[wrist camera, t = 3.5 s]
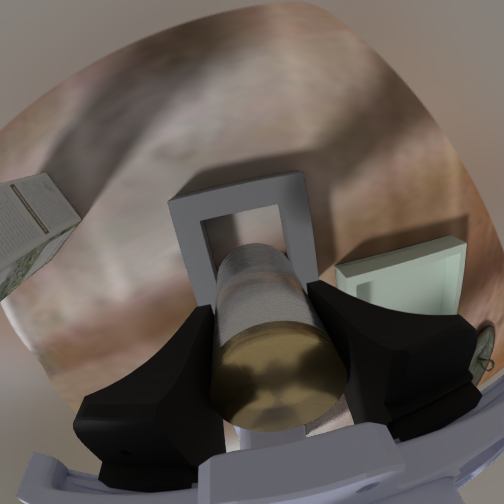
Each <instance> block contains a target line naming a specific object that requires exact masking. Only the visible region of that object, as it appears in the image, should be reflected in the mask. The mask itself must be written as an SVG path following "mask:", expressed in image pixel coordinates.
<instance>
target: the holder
mask: <svg viewBox="0 0 504 504" xmlns="http://www.w3.org/2000/svg"><path fill="white" fill-rule="evenodd" d="M275 204H278V206H279V211H280V217H281V222H282V228H283V234H284V239H285V245H286V251H287V257H288V261H289V262H290V264H291V266H292V268H293V270H294V271H295V273H296V275H297V277H298V279H299V280H300V282H301V284H302V286H303V288H304V290H305V291H306V293H307V286H306V283H309V282H313V281H317V280H319V278H318V269H317V261H316V252H315V244H314V237H313V230H312V222H311V216H310V209H309V202H308V196H307V190H306V184H305V178H304V172H301V171H297V170H296V171H290V172H285V173H279V174H274V175H269V176H263V177H258V178H253V179H249V180H244V181H239V182H234V183H230V184H225V185H221V186H217V187H212V188H208V189H204V190H200V191H195V192H191V193H187V194H183V195H180V196H176V197H173V198H171V199H170V200H169V201H168V206H169V210H170V213H171V217H172V221H173V224H174V228H175V232H176V235H177V239H178V242H179V246H180V249H181V252H182V256H183V259H184V262H185V266H186V269H187V272H188V276H189V279H190V282H191V285H192V288H193V291H194V294H195V297H196V300H197V303H198V306H203V305H208V304H211V307H212V310H213V313H214V316H215V301H216V288H217V275H218V273H217V270H216V266H215V262H214V258H213V255H212V251H211V247H210V243H209V239H208V235H207V232H206V228H205V224H204V220H206V219H210V218H214V217H219V216H223V215H228V214H232V213H237V212H241V211H246V210H251V209H255V208H260V207H265V206H270V205H275ZM307 295H308V293H307Z"/></svg>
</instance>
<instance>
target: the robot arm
mask: <svg viewBox="0 0 504 504" xmlns="http://www.w3.org/2000/svg"><path fill="white" fill-rule="evenodd" d="M306 286H307V293H308V297H309V299H310V301H311V303H312V304H313V306H314V308H315V310H316V312H317V314H318V316H319V318H320V319H321V321H322V323H323V325H324V327H325V329H326V331H327V333H328V335H329V337H330V338H331V340H332V342H333V344H334V346H335V348H336V350H337V352H338V354H339V356H340V358H341V360H342V362H343V364H344V365H345V368H346V372H347V382H346V386H345V389H344V391H343V393H344V396H345V398H346V401H347V404H348V407H349V410H350V412H351V415H352V418H353V421H354V424H355V425H351V426H346V427H343V428H339V429H336V430H333V431H329V432H326V433H322V434H319V435H315V436H311V437H307V438H306V431H305V425H302V426H299V427H296V428H293V429H289V430H283V431H275V432H258V431H251V430H246V429H243V428H240V427H237V426H235V425H234V427H235V429H236V432H237V434H238V436H239V438H240V450H237V451H232V452H228V453H226V446H225V437H224V426H223V418H222V417H221V416H220V415H219V414H218V413H217V412H216V411H215V409H214V407H213V405H212V402H211V397H210V390H211V368H212V349H213V332H214V313H213V310H212V307H211V304H208V305H203V306H198V307H196V308H195V309H194V311H193V312H192V313H191V314H190V316H189V317H188V318H187V320H186V321H185V322H184V323H183V325H182V326H181V327H180V328H179V330H178V331H177V332H176V333H175V334H174V335H173V336H172V338H171V339H170V340H169V341H168V342H167V343H166V344H165V345H164V346H163V347H162V348H161V349H160V350H159V351H158V352H157V353H156V354H155V355H154V356H153V357H151V358H150V359H149V360H148V361H147V362H145V363H144V364H143V365H141V366H140V367H139V368H137V369H136V370H134V371H133V372H132V373H130V374H129V375H127V376H125V377H124V378H122V379H121V380H119V381H117V382H115V383H113V384H111V385H110V386H108V387H105V388H103V389H101V390H99V391H96V392H94V393H92V394H90V395H87V396H85V397H84V399H83V402H82V404H81V406H80V408H79V411H78V413H77V415H76V418H75V420H74V422H73V429H74V431H75V433H76V435H77V437H78V438H79V439H80V440H81V442H82V443H83V444H84V445H85V446H86V447H87V448H88V449H89V450H90V451H91V452H92V453H93V454H95V455H96V456H97V457H98V458H99V459H100V460H101V461H102V466H101V469H100V473H99V476H98V475H92V474H87V473H82V472H78V471H74V470H69V469H68V468H67V467H66V466H65V465H64V464H63V463H62V462H60V461H59V460H57V459H56V458H54V457H52V456H48V455H45V454H41V453H38V452H33V454H32V456H31V458H30V460H29V463H28V465H27V468H26V470H25V473H24V475H23V478H22V481H21V483H20V486H19V489H18V492H17V495H16V497H17V498H18V499H19V500H20V501H22V502H23V503H25V504H464V502H463V500H462V498H461V496H460V494H459V492H458V490H457V489H458V488H460V487H461V486H463V485H464V484H465V483H467V482H468V481H469V480H471V479H472V478H474V477H475V476H476V475H478V474H479V473H480V472H481V471H483V470H484V469H485V468H486V467H488V466H489V465H490V464H491V463H492V462H493V461H495V460H496V459H497V458H498V457H499V456H500V455H502V454H503V453H504V375H503V376H502V377H500V378H499V379H498V380H496V381H495V382H494V383H492V384H491V385H490V386H488V387H487V388H486V389H484V390H483V391H481V392H480V391H479V390H478V389H477V388H476V386H475V385H474V384H473V383H472V382H471V381H472V380H473V378H474V377H473V374H472V373H471V372H470V371H469V370H468V369H469V366H470V364H471V361H472V358H473V355H474V352H475V349H476V345H477V331H476V329H475V328H474V327H473V326H472V325H471V324H470V323H469V322H467V321H466V320H465V319H464V318H463V317H462V316H460V315H459V314H457V315H426V314H415V313H408V312H402V311H397V310H392V309H388V308H384V307H381V306H378V305H374V304H371V303H369V302H366V301H363V300H361V299H358V298H356V297H354V296H352V295H349V294H347V293H345V292H343V291H341V290H339V289H337V288H335V287H333V286H332V285H330V284H328V283H326V282H324V281H322V280H317V281H313V282H309V283H306Z"/></svg>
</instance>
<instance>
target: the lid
mask: <svg viewBox="0 0 504 504" xmlns="http://www.w3.org/2000/svg"><path fill="white" fill-rule="evenodd" d="M494 336H495V332H494V329H493V327H491V326H490V327H487V328H486V329H484V330H483V331H482V332H481V333H480V335H479V336H478V338H477V345H476V349H475V352H474V355H473V358H472V361H471V364H470V366H469V369H468V370H469V371H470V372H471V373H472V374H473V377H474V378H473V380H472V381H471V382H472V383H473V384H474V385H475V386H477V385H478V383H479V381H480V380H481V378H482V376H483V374H484V373H485V371H486V368H487V366H488V364H489V361H490V362H491V364H492V368H491V369H490V370H487V371H491V370H492V369H493V368H494V361H493V360H490V358H491V354H492V352H493V347H494Z"/></svg>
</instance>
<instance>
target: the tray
mask: <svg viewBox="0 0 504 504" xmlns="http://www.w3.org/2000/svg"><path fill="white" fill-rule="evenodd" d="M466 246H467V243H466V242H464V241H462V240H460V239H458V238H456V237H454V236H452V235H449V236H445V237H442V238H438V239H435V240H431V241H427V242H424V243H420V244H417V245H413V246H409V247H405V248H402V249H398V250H394V251H390V252H387V253H383V254H379V255H375V256H371V257H367V258H363V259H359V260H355V261H351V262H347V263H343V264H339V265H335V273H336V286H337V289H339V290H341V291H343V292H345V293H347V294H349V295H352V296H354V297H356V298H358V299H361V300H363V301H366V302H369V303H371V304H374V305H378V306H381V307H384V308H388V309H392V310H397V311H402V312H408V313H415V314H426V315H457V310H458V305H459V300H460V294H461V288H462V281H463V274H464V266H465V257H466Z"/></svg>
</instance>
